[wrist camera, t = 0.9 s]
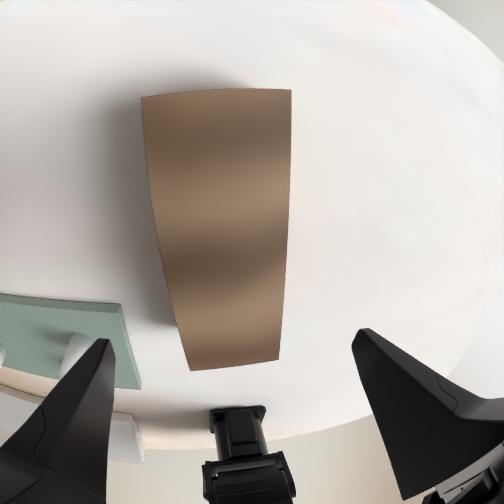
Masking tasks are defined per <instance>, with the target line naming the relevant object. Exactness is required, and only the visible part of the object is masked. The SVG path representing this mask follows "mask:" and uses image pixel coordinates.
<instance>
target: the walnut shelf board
mask: <svg viewBox="0 0 504 504" xmlns="http://www.w3.org/2000/svg"><path fill="white" fill-rule="evenodd" d="M141 102H142V119H143V132H144V144H145V154H146V163H147V172H148V180H149V187H150V195H151V201H152V208H153V214H154V221H155V226H156V232H157V238H158V243H159V248H160V254H161V259H162V264H163V268H164V273H165V278H166V282H167V287H168V291H169V295H170V299H171V304H172V308H173V312H174V316H175V319H176V323H177V327H178V331H179V334H180V338H181V342H182V345H183V349H184V352H185V356H186V359H187V362H188V366H189V369H190V371H198V370H208V369H218V368H226V367H234V366H242V365H249V364H256V363H262V362H268V361H274V360H279V350H280V339H281V327H282V315H283V302H284V288H285V273H286V256H287V239H288V218H289V194H290V162H291V90H286V89H251V88H249V89H214V90H199V91H188V92H178V93H169V94H162V95H155V96H148V97H142V98H141Z"/></svg>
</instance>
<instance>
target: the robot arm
mask: <svg viewBox="0 0 504 504" xmlns="http://www.w3.org/2000/svg"><path fill="white" fill-rule="evenodd" d="M352 352H353V355H354V359H355V362H356V366H357V369H358V373H359V376H360V380H361V383H362V385H363V388H364V390H365V393H366V396H367V398H368V401H369V403H370V406H371V409H372V411H373V414H374V416H375V419H376V422H377V425H378V427H379V430H380V433H381V436H382V439H383V441H384V444H385V447H386V450H387V453H388V456H389V459H390V462H391V465H392V468H393V471H394V474H395V477H396V480H397V484H398V487H399V490H400V494H401V497H402V499H403V501H404V500H407V499H409V498H411V497H414V496H416V495H418V494H420V493H422V492H424V491H426V490H428V489H430V488H432V487H434V486H435V488H436V489H435V490H434V491H432V492H431V493H429V494H428V495H426V496H425V497H424V499H423V502H422V504H504V398H495V399H485V398H481V397H479V396H477V395H475V394H473V393H471V392H469V391H467V390H465V389H463V388H461V387H460V386H458V385H456V384H454V383H452V382H451V381H449V380H448V379H446V378H444V377H443V376H441V375H440V374H438V373H437V372H435V371H434V370H432V369H431V368H429V367H428V366H426V365H425V364H423V363H421V362H420V361H418V360H417V359H415V358H414V357H412V356H411V355H409V354H408V353H406V352H405V351H403V350H402V349H400V348H399V347H397V346H396V345H394V344H392V343H391V342H389V341H388V340H386V339H385V338H383V337H382V336H380V335H379V334H377V333H376V332H374V331H373V330H371V329H369V328H364V329H359V330H358V332H357V334H356V336H355V338H354V340H353V342H352ZM115 364H116V356H115V352H114V350H113V347H112V344H111V341H110V339H108V338H98V339H97V340H96V341H95V342H94V343H93V344H92V345H91V346H90V347H89V348H88V349H87V351H86V352H85V353H84V354H83V355H82V356H81V357H80V358H79V359H78V361H77V362H76V363H75V364H74V365H73V366H72V367H71V368H70V370H69V371H68V372H67V373H66V374H65V375H64V376H63V378H62V379H61V380H60V381H59V382H58V383H57V385H56V386H55V387H54V388H53V389H52V390H51V392H50V393H49V394H48V395H47V396H46V398H45V399H44V400H43V401H42V402H41V405H39V406H38V407H37V408H36V410H35V411H34V412H33V413H32V414H31V416H30V417H29V418H28V419H27V420H26V421H25V422H24V424H23V425H22V426H21V427H20V428H19V429H18V430H17V431H16V432H15V433H14V434H13V435H12V436H11V437H10V438H9V439H8V440H7V441H6V442H5V443H4V444H3V445H2V446H1V447H0V504H106V478H107V459H108V446H109V435H110V425H111V417H112V409H113V402H114V382H115ZM265 412H266V408H265V407H264V406H261V407H252V408H241V409H226V410H212V411H210V433H213V434H215V439H216V446H217V452H218V459H219V461H213V462H210V461H205V465H202V472H203V497H204V498H205V499H206V500H207V501H209V504H293V501H292V498H294V497H296V489H295V485H294V481H293V478H292V475H291V473H290V470H289V468H288V465H287V462H286V460H285V457H284V454H283V452H282V451H279V452H277V453H272V454H268V450H267V447H266V443H265V438H264V434H263V430H262V426H261V423H262V420H263V418H264V415H265ZM216 474H218V476H216Z"/></svg>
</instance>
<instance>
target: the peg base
mask: <svg viewBox="0 0 504 504" xmlns="http://www.w3.org/2000/svg"><path fill="white" fill-rule="evenodd" d="M98 338H108V339H110V341H111V344H112V347H113V350H114V352H115V356H116V364H115V382H114V388H124V389H137V390H141V379H140V375H139V372H138V369H137V366H136V362H135V359H134V356H133V352H132V349H131V345H130V341H129V337H128V334H127V330H126V326H125V321H124V317H123V313H122V308H121V304H106V303H89V302H75V301H62V300H50V299H40V298H30V297H21V296H13V295H5V294H0V368H1V366H5V367H8V368H12V369H15V370H19V371H23V372H27V373H31V374H35V375H39V376H44V377H49V378H53V379H59V380H61V379H62V378H63V376H64V375H65V374H66V373H67V372H68V371H69V370H70V368H71V367H72V366H73V365H74V364H75V363H76V362H77V361H78V359H79V358H80V357H81V356H82V355H83V354H84V353H85V352H86V351H87V349H88V348H89V347H90V346H91V345H92V344H93V343H94V342H95V341H96V340H97V339H98Z"/></svg>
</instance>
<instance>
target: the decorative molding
mask: <svg viewBox="0 0 504 504" xmlns="http://www.w3.org/2000/svg"><path fill="white" fill-rule="evenodd" d="M44 399H45V398H42V397H38V396H35V395H31V394H28V393H25V392H21V391H18V390H15V389H12V388H9V387H7V386H4V385H1V384H0V427H2V428H4V429H6V430H8V431H11V432H13V433H15V432H16V431H17V430H18V429H19V428H20V427H21V426H22V425H23V424H24V422H25V421H26V420H27V419H28V418H29V417H30V416H31V414H32V413H33V412H34V411H35V410H36V408H37V407H38V406H39V405H41V402H42V401H43V400H44ZM144 449H145V441H144V439H143V437H142V435H141V434H140V433H139V429H138V428H137V425H136V422H135V420H134V419H133V416H132V414H128V413H119V412H112V417H111V425H110V435H109V446H108V460H114V461H121V462H129V463H137V464H144Z"/></svg>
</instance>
